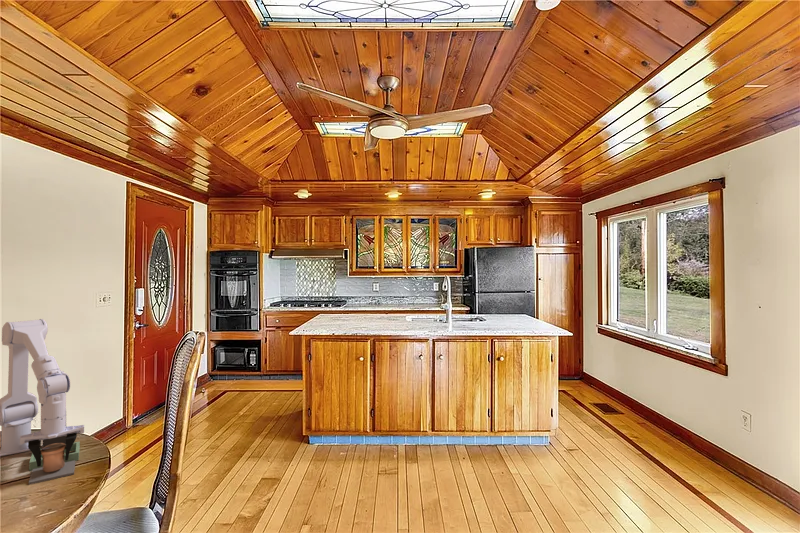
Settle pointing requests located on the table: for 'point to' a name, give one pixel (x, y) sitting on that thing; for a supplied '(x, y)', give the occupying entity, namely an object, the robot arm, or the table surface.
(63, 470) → the slate mat
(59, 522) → the table surface
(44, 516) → the table surface
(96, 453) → the table surface
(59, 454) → the terracotta pot
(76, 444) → the frame
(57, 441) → the phone stand
